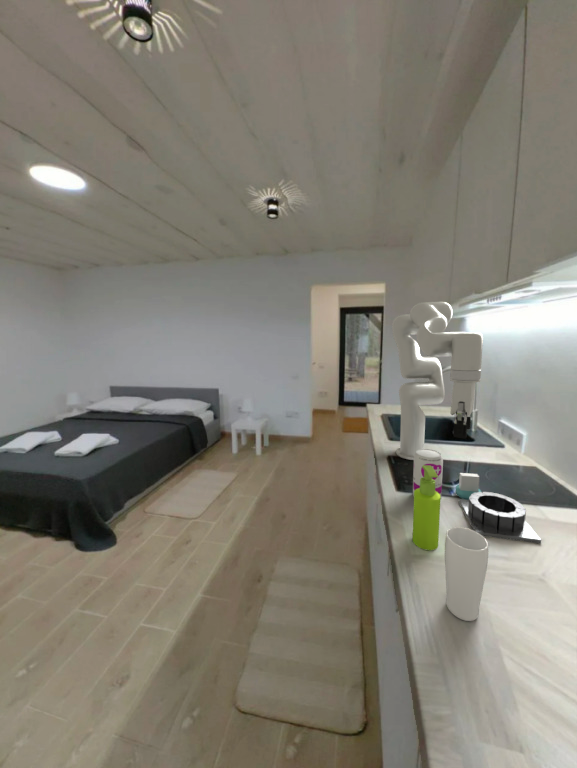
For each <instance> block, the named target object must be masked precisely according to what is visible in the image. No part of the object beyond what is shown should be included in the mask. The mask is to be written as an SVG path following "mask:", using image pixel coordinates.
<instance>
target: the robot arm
mask: <svg viewBox="0 0 577 768" xmlns="http://www.w3.org/2000/svg"><path fill="white" fill-rule="evenodd" d="M452 318H453V308H452V306H451V304H449V303H448V302H446V301H429V302H428V301H427V302H418V303H417V304H415V305H413V307H411V309H410V312H409V314H407V313H406V314H400V315H398V316H396V317H394V319H393V321H392V325H391V327H392V328H391V329H392V337H393V339H394V342H395V344H396V347H397V351H398V352H397V353H398V360H399V370H400V375H401V377H402V378H403V379H405V380H426V381H411V382H409V381H408V382H406V383H402V384H401V385H400V387H399V390H398V393H399V394H398V395H399V402H400V433H399V435H400V437H399V438H400V439H399V441H400V442H399V443H400V444H399V448H396V451H395V453H396V455H397V456H398V457H399V458H402V459H404V460H405V459H406V460H410V461H414V455H415V453H416V451H417V450H419V449H425V437H426V435H425V433H426V432H425V430H426V414H425V412H424V410H423V409H421V407H420V406H422V405H423V406H424V405H425V406H426V405H429V406H430V405H432V406H433V405H439V404H442V403H443V402H444V400H445V396H446V395H445V394H446V392H445V384H444V383H445V382H444V376H443V369H442V365H441V361H440V360H439V359H438V358H449V357H451V359H450V377H449V378H450V379H449V380H450V381H451V382H453V385H452V390H451V391H452V393H451V402H450V403H451V404H450V415H451V416H454V415H455V416H454V422H453V432H452V433H453V435H452V436H453V437H454V438H459V439H463V440H464V439H465V440H466V439H467V434H468V433H467V432H468V430H470V429H471V421H472V420H471V419H472V416H471V414H472V412H473V408H474V404H475V403H474V402H475V393H476V391H475V390H476V383H480V382H481V375H482V359H483V346H484V345H483V344H484V343H483V342H484V337H483V334H482V333H481V332H475V331H474V332H472V331H471V332H466V331H450V332H449V331H447V332H446V331H445V330H446V328H447V326H448V324H449V323H450V321H451V320H452ZM411 335H415V336H416V340H415V339H414V338H413V337H412V336H411ZM421 351H422V353H423V354H424V355H425V356H422V355H421Z"/></svg>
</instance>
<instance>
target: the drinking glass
mask: <svg viewBox="0 0 577 768" xmlns="http://www.w3.org/2000/svg"><path fill="white" fill-rule="evenodd" d="M488 562H489V543H488V540H487V539H486V538H485V536H482V535H481V534H479V533H477V532H475V531H474V530H473V529H470V528H467V527H462V526H454V527H449V528H448V529H447V530H446V533H445V541H444V566H445V567H444V568H445V585H446V586H445V593H446V594H445V595H446V596H445V597H446V598H445V603H446V607H447V608H448V610H449V612H450V613H451V614H452V615H453V616H455V617H456V618H458V619H460V620H462V621H465V622H473V621H475V620H477V619H478V617H479V615H480V605H481V600H482V595H483V589H484V584H485V579H486V574H487V570H488Z"/></svg>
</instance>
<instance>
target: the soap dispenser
mask: <svg viewBox="0 0 577 768" xmlns="http://www.w3.org/2000/svg"><path fill="white" fill-rule="evenodd" d="M422 468H423V469H424V477H423V478H421V479H420V488H418V489H416V490H415V491H414V496H413V511H412V512H413V513H412V514H413V517H412V521H413V522H412V543H413V544H414V546H416V547H418V548H419V549H422V550H426V551H434V550H435V551H436V549H438V547H439V538H440V537H439V536H440V534H439V533H440V515H441V500H442V495H441V496H440V494H439V493H438V492H436V491H435V480H434V479H432V477H433V478H437V477H438V476H437V473H436V472H435V470H434V469H433V468H432V467H431V466H429V465H423V466H422Z"/></svg>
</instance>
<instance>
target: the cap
mask: <svg viewBox="0 0 577 768" xmlns="http://www.w3.org/2000/svg"><path fill="white" fill-rule="evenodd" d="M458 479H459V480H458V481H459V483H458V484H457V485H456V486H455V494H457V495H456V496H457V497H458V496H459V499H464V500H469V497H470V496H471V494H473V493H477V492H482V490H481V489H480V475H479V474H478V473H470V472H469V473H467V472H459V478H458Z"/></svg>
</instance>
